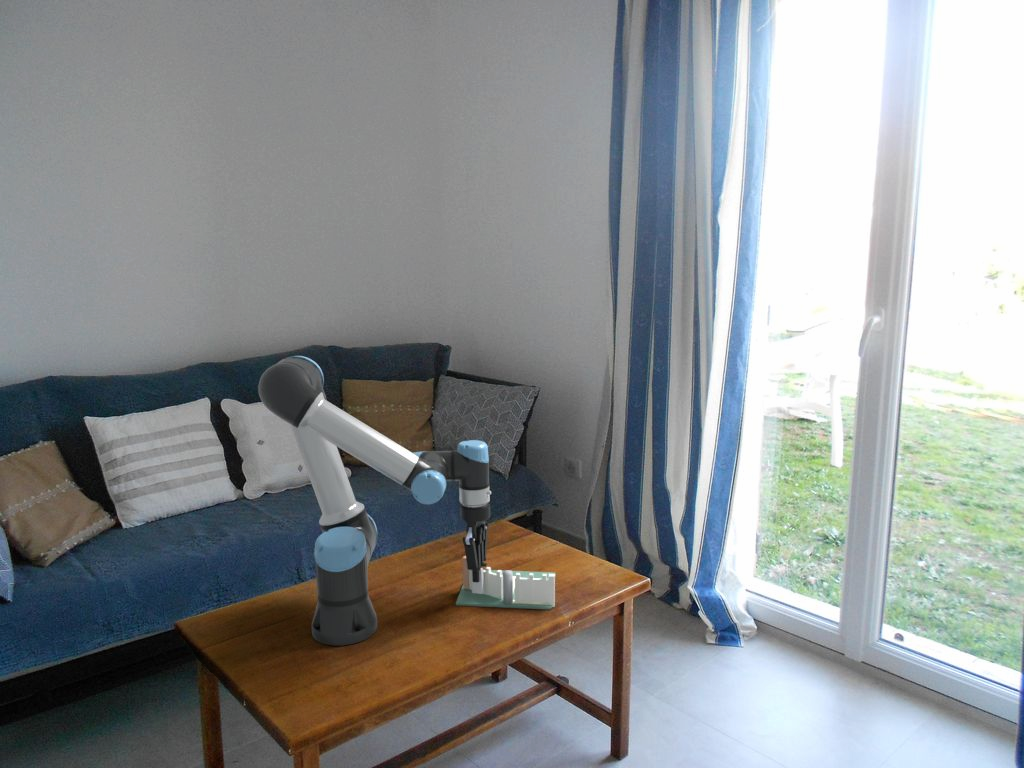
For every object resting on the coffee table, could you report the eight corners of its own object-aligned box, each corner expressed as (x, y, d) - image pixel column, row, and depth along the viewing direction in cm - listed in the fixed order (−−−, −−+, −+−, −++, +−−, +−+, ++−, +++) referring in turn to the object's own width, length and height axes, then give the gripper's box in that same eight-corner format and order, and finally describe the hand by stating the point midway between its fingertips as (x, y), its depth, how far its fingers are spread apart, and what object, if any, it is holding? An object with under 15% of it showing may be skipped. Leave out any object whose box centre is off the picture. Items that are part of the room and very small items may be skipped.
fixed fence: (502, 605, 188) (502, 574, 186) (503, 601, 190) (503, 569, 188) (554, 608, 186) (554, 576, 185) (554, 603, 188) (554, 572, 187)
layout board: (455, 605, 188) (455, 602, 188) (469, 571, 208) (469, 568, 207) (551, 609, 185) (551, 606, 185) (555, 574, 205) (555, 572, 205)
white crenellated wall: (463, 588, 195) (462, 557, 194) (466, 585, 197) (466, 555, 195) (500, 599, 189) (500, 567, 187) (504, 597, 190) (503, 565, 188)
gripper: (480, 512, 179) (483, 604, 183) (497, 496, 191) (500, 583, 195) (451, 509, 181) (455, 601, 185) (469, 494, 193) (473, 580, 197)
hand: (478, 592), depth 190 cm, fingers closed
